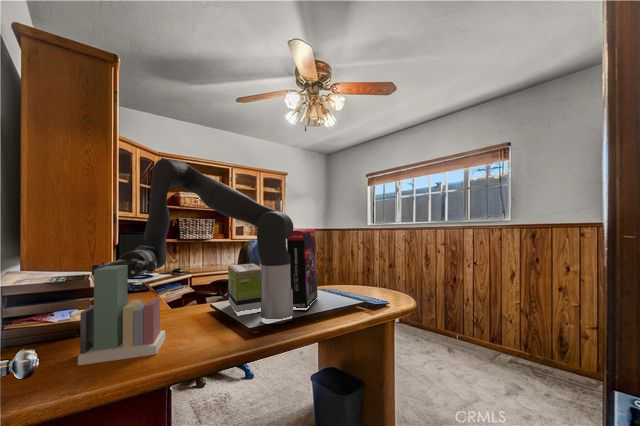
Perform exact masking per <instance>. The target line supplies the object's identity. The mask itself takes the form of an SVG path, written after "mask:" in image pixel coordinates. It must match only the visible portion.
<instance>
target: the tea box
mask: <svg viewBox="0 0 640 426" xmlns="http://www.w3.org/2000/svg"><path fill="white" fill-rule="evenodd" d="M227 269H228V270H227V274H228V275H227V276H228V304H229V303H230V304H231V306H232V307H233V308H234V310H235V311H236V312H240V311H245V310H252V309H259V308H261V272H260V265H257V264H255V263H245V264H243V263H242V264H235V265H228V266H227Z"/></svg>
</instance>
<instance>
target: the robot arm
mask: <svg viewBox="0 0 640 426" xmlns="http://www.w3.org/2000/svg"><path fill="white" fill-rule="evenodd" d="M151 172H152V173H151V184H150V200H149V212H148V217H147V222H146V225H145V229H144V233H143V239H144V241H145V242H146V243H149V244H151V245H153V247H152V246H148V245H142V244H141V245H138V246H137V247H136V248H135V249H134V250H131V251H128V252H126V253H124V254H122V255H121V256H119V258H118V260H115V261H108V262H107V263H106V262H104V261H102V262H99V263H96V264H92V265H91V276H94V270H96V269H99V268H102V267H105V266H115V265H128V279H133V278H137V277H139V276H141V275H143V274H144V273H146V272H147V271H148V272H149V273H152V272H154V271H155V270H157V269H161V268H162V267H163V266H164V265H165V264H166V261H167V246H166V245H167V244H166V243H167V237H168V233H169V228H170V224H171V215H170V211H169V207H168V194H169V191H170V188H181V189H184V190H187V191H190V192H191V193H194V194H196V195H197V196H198V197H199V198H200V200H201V201H202V202H203V204H204V205H206V206H207V207H208V208H209V209H211V210H213V211H215V212H217V213H219V214H220V215H223V216H225V217H228V218H230V219H234V220H237V221H241V222H245V223H248V224H251V225H252V226H254V227H256V244H257V246H256V247H257V255H258V257H259V260H260V265H259V267H260V272H261V313H260V318H261V317H262V318H265V319H283V318H287V317H290V316H293V317H294V311H293V290H292V288H291V258H290V254H289V253H288V251H287V238H288V237H289V236H290V235H291V234H292V232H293V230H294V223H293V221H292V219H291V218H290V216H289V215H288V214H286V213H284V212H281V211H278V210H276V209H273V208H270V207H269V206H265V205H263V204H260V203H259V202H257V201H256V200H254V199H252V198H251V197H249V196H247V195H246V194H244V193H242V192H240V191H239V190H237V189H235V188H233V187H231V186H229V185H227V184H226V183H222V182H221V181H219V180H216V179H214V178H212V177H209V176H207V175H205V174H203V173H201V172H200V171H198V170H197V169H195V168H193V166H191V165H189V164H187V162H183V161H181V160H176V159H169V158H161V159H159V160H157V161H156V162H155V164H154V165H153V169H152V171H151Z"/></svg>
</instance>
